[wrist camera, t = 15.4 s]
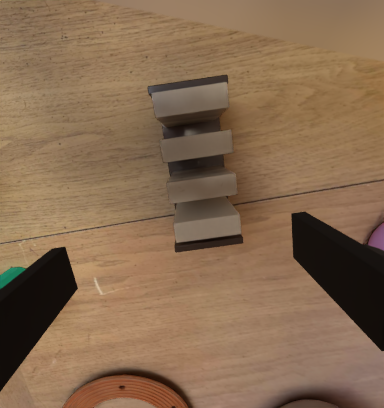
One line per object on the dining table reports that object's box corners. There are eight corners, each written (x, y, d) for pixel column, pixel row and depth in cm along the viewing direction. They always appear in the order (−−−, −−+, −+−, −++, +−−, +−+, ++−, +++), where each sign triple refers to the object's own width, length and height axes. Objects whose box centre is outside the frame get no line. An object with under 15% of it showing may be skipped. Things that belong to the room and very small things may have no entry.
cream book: (177, 200, 35) (173, 223, 25) (224, 193, 35) (239, 214, 25) (179, 214, 36) (176, 243, 25) (225, 208, 36) (241, 234, 25)
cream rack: (158, 103, 33) (143, 80, 22) (215, 95, 33) (231, 67, 21) (178, 225, 37) (174, 260, 26) (229, 218, 37) (247, 250, 26)
